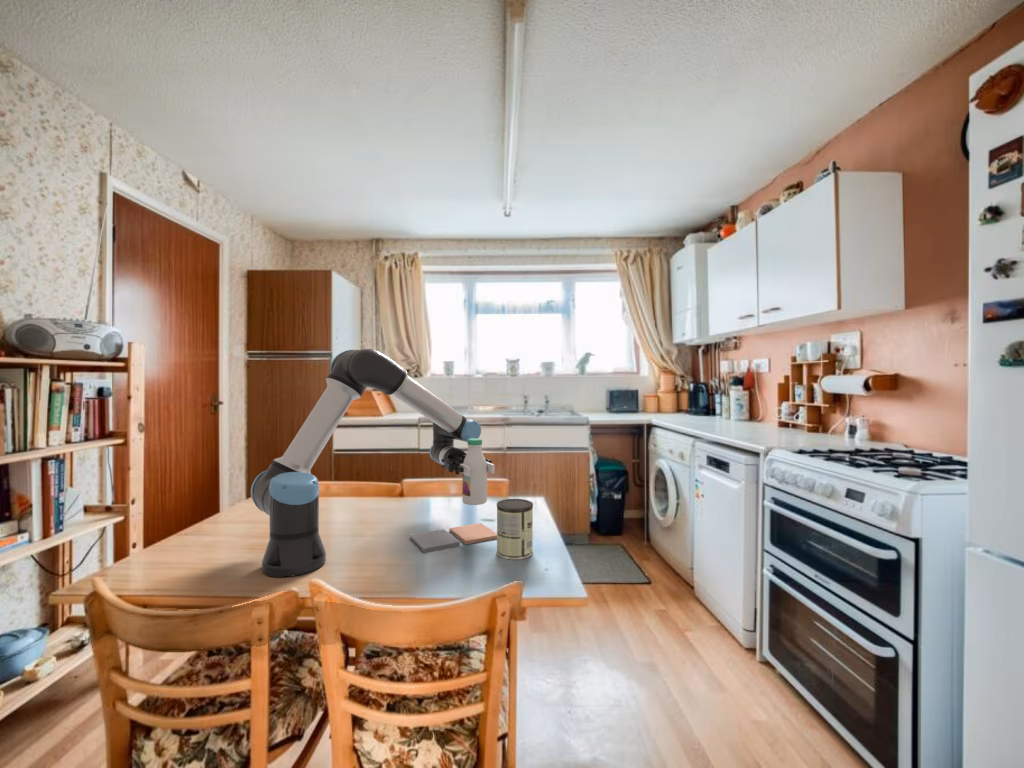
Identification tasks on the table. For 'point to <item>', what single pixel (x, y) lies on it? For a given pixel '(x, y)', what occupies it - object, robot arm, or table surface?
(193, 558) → the table surface
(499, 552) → the coffee can
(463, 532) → the terracotta tile
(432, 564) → the table surface
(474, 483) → the milk bottle
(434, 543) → the slate tile
